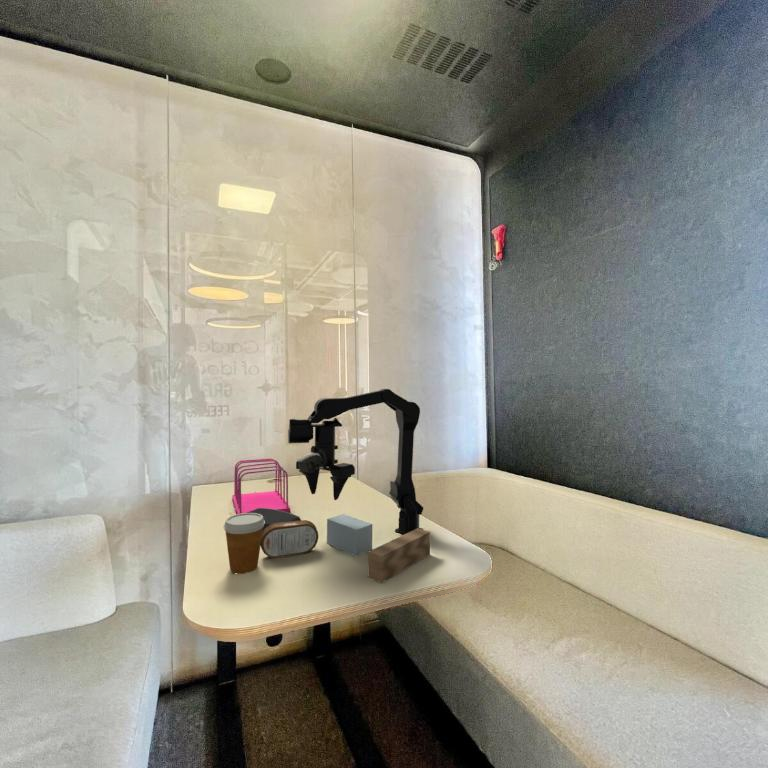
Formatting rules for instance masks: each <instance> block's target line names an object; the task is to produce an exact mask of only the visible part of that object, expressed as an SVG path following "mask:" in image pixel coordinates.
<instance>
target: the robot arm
mask: <svg viewBox="0 0 768 768" xmlns="http://www.w3.org/2000/svg"><path fill="white" fill-rule="evenodd" d="M378 404H379V405H380V404H385V405H386V406H387V407H389V408H390V409H391V410H393V411H394V412H395V420H396V424H397V428H398V445H397V446H398V447H397V449H398V451H397V469H396V471H397V472H396V478H395V480H394V481H392V480H390V482H389V485H390V490H389V493H388V494H389V495H390V496H391V500H392V501H393V502H394V503H395V504H396V507H397V508H398V509H400V510H399V512H398V527H397V528H395V529H394V532H397V533H400V534H403V535H404V534H406V533H409V532H411V531H413V530H415V529H417V528H419V529H422V530H424V528H422V527H420V515H422V514H423V511H424V506H422V504H420V503H419V501H417V496H416V488H415V485H414V481H413V460H414V458H413V457H414V439H415V436H414V435H415V430H416V428H417V425H418V423H419V420H420V415H421V408H420V406H419V405H418V404H417V403H416V402H415V401H408V399H405V398H403V397H402V396H400V395H398V394H397V393H395V392H394V391H392V390H391V389H390V388H381V389H379V390H375V391H369V392H366V393H362V394H356V395H351V396H347V397H329V398H328V397H327V398H326V397H325V398H320V399H318V400H316V402H315V403H314V406H313V409H314V410H313V411H312V412H311V414H310V415H308V417H307V419H305V418H304V419H297V418H296V419H295V418H290V419H289V420H288V421H289V424H288V430H287V440H288V444H309V443H310V441H312V440H313V439H314V445H311V447H310V452H309V453H306V454H304V455H303V456H302V457H300V458H298V459H297V461H296V462H295V469H296V470H298V471H299V473H301V474H303V475H304V476H305V479H306V481H307V483H308V487H309V491H310V493H311V495H315V494H316V492H317V488H318V487H317V486H318V482H319V481H318V480H319V476H320V471H322V470H323V471H329V473H330V475H331V476H329V478H330V480H331V481H332V483H333V484H332V485H333V486H332V488H333V489H332V491H333V494H332V495H333V500H334V501H337V500H338V499H339V497H340V495H341V493H342V492H343V491H342V490H343V489H344V487H345V484H347V481H348V480H349V478H351V477H352V476H354V475H355V474H356V468H355V465H354V464H353V463H347V462H342V463H341V462H340V463H339V462H338V461H339V460H338V459H336V450H338V449H339V446H338V445H337V444H336V427H338V428H339V427H342V426H343V423H341V422H340V421H339V420H338V418H337V416H340V415H343V414H344V413H347V412H348V411H351V410H352V411H353V410H356V409H361V408H365V407H368V406H374V405H378ZM330 419H332V420H330Z"/></svg>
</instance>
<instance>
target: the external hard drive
mask: <svg viewBox="0 0 768 768" xmlns="http://www.w3.org/2000/svg"><path fill="white" fill-rule="evenodd" d="M247 513H257V514H261V515H262V516H263V519H264V521H265V524H264V526H263V530H262V532H263V531H264V529H265V528H267V527H268V526H269V525H271V524H274V523H282V522H292V521H301V520H302V519H301V517H300V516H299V515H296V514H293V513H291V512H289V513H288V512H284V511H280V510H275V509H267V508H258V509H255V510H252V511H250V512H247Z"/></svg>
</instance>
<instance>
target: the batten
mask: <svg viewBox="0 0 768 768" xmlns="http://www.w3.org/2000/svg"><path fill="white" fill-rule="evenodd" d="M419 528H420V527H419ZM419 528H417V529H415V530H413V531H411V532H409V533H406V534H403V535H401V536H398V537H396V538H394V539H392V540H389V541H388V542H385V543H383V544H381V545H380V546H379V545H378V546H377V547H375V548H372V550H369V551H367V552H368V553H367V555H368V556H367V557H368V558H367V562H368V563H367V565H368V566H367V578H368V579H371V580H373V581H375V582H378V583H379V584H383V583H384V582H386V581H387V580H389V579H391V578H392V577H395V576H396V575H398V574H399V573H401V572H403V571H405V570H406V569H408V568H409V567H412V566H413V565H414V564H416V563H418V562H420V561H421V560H423V559H425V558H427V557H428V556H430V554H431V531H428V530H425V529H423V528H422V529H423V530H422V529H419Z"/></svg>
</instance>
